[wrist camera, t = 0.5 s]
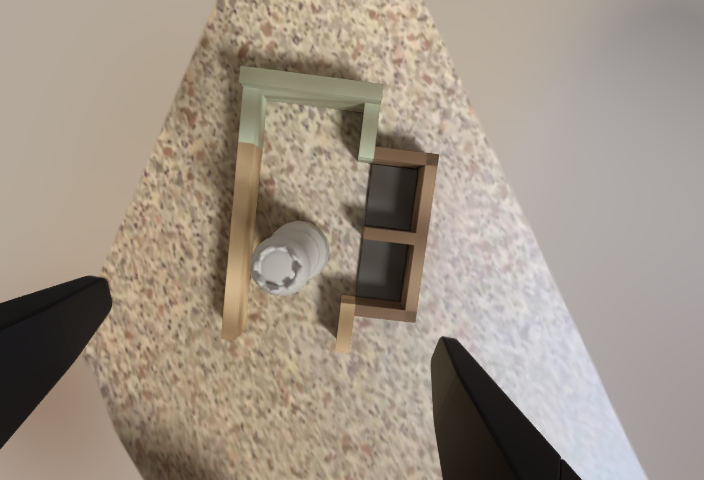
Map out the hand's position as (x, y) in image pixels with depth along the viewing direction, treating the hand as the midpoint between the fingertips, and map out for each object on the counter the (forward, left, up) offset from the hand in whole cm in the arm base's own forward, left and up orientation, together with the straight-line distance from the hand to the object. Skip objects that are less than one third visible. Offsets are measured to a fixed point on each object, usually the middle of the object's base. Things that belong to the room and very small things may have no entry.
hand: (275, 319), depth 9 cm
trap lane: (+2, +1, -16) cm, 16 cm away
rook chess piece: (-1, +1, -16) cm, 16 cm away
